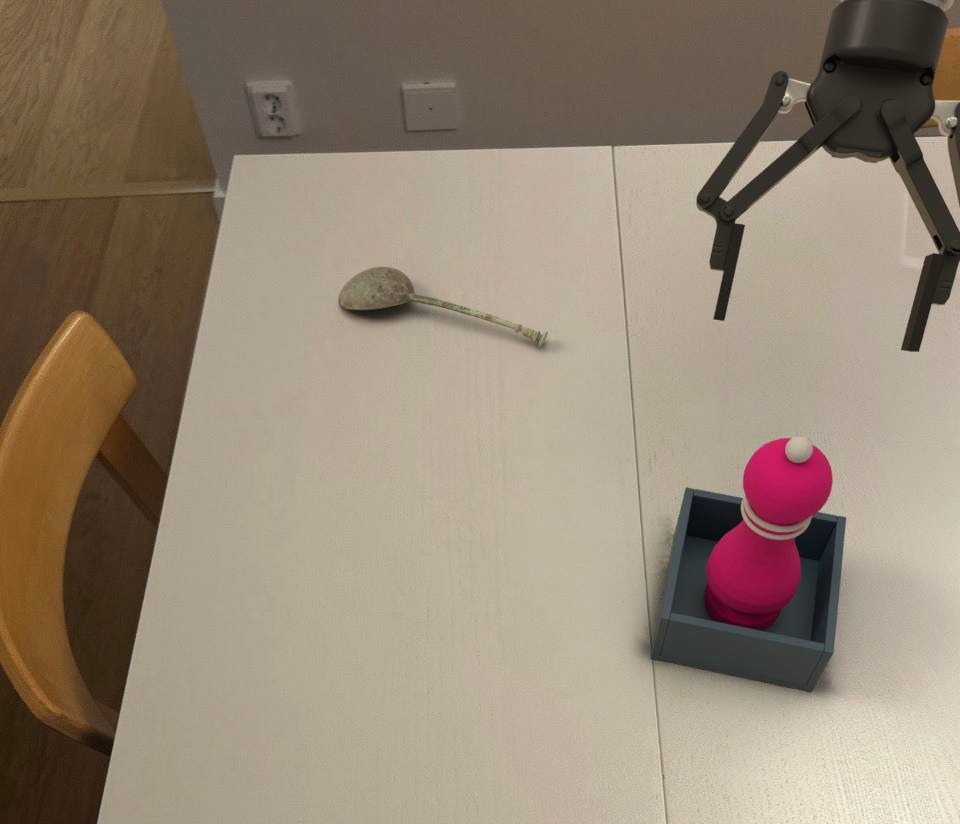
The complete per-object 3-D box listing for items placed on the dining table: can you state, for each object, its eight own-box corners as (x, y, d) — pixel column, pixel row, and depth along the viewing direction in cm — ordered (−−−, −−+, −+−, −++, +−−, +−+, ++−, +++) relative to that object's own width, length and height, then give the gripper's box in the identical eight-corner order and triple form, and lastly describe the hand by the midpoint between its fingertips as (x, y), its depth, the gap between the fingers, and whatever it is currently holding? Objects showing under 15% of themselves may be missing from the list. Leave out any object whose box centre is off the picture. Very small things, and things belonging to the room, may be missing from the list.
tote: (825, 561, 90) (846, 516, 85) (811, 692, 84) (833, 653, 78) (674, 532, 92) (685, 486, 87) (650, 658, 86) (660, 617, 80)
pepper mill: (787, 572, 89) (857, 407, 72) (784, 646, 85) (858, 490, 68) (700, 560, 89) (749, 394, 72) (694, 633, 86) (744, 476, 69)
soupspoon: (358, 273, 110) (330, 317, 107) (352, 247, 107) (323, 292, 104) (557, 324, 105) (533, 371, 102) (557, 298, 102) (532, 346, 99)
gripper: (1068, 47, 72) (978, 363, 78) (703, 3, 76) (643, 309, 82) (1109, 14, 65) (1007, 365, 71) (705, -33, 69) (639, 305, 75)
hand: (812, 335), depth 77 cm, fingers open, 13 cm apart
